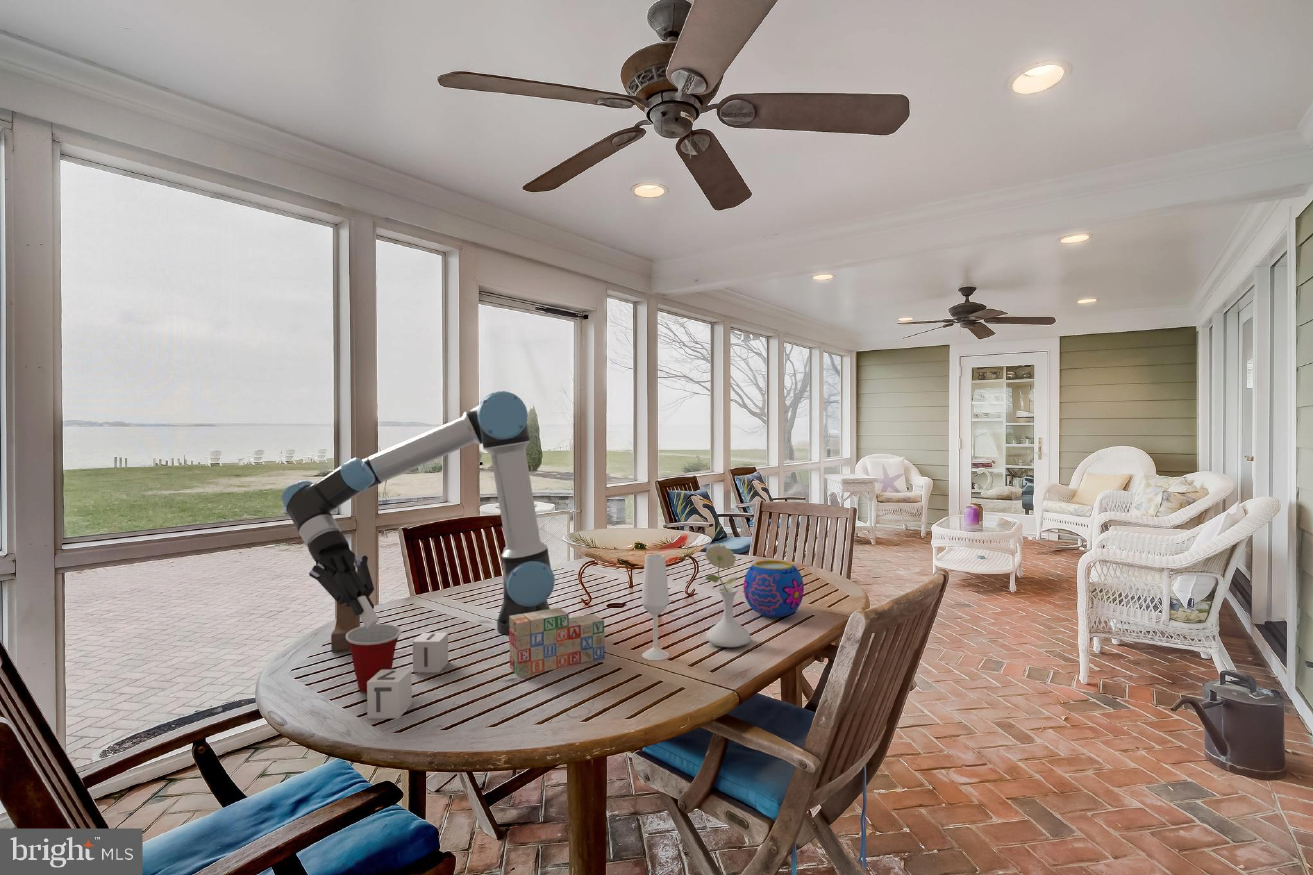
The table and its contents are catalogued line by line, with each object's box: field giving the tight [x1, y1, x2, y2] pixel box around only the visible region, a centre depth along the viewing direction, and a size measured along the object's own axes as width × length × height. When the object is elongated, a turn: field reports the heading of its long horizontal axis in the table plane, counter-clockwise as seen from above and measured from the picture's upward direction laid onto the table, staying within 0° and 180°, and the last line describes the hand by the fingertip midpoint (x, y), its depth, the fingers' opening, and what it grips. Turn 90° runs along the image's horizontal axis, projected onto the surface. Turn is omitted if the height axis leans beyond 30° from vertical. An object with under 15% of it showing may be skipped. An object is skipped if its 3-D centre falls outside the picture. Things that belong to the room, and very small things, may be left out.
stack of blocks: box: [508, 607, 606, 677], centre depth 142 cm, size 21×6×12 cm, turn 120°
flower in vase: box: [704, 543, 752, 648], centre depth 155 cm, size 13×11×25 cm
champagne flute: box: [641, 553, 670, 661], centre depth 147 cm, size 7×7×24 cm
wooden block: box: [330, 570, 361, 652], centre depth 155 cm, size 9×4×18 cm, turn 12°
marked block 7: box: [366, 668, 413, 719], centre depth 118 cm, size 6×6×7 cm
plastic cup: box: [346, 623, 402, 693], centre depth 129 cm, size 11×11×12 cm
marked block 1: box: [412, 632, 449, 673], centre depth 140 cm, size 6×6×7 cm
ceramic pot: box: [742, 559, 805, 618], centre depth 178 cm, size 18×18×15 cm
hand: (372, 624), depth 129 cm, fingers closed
